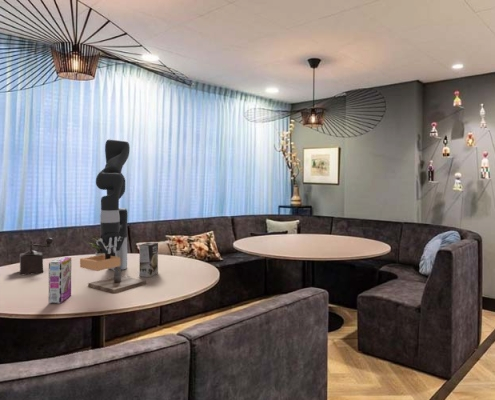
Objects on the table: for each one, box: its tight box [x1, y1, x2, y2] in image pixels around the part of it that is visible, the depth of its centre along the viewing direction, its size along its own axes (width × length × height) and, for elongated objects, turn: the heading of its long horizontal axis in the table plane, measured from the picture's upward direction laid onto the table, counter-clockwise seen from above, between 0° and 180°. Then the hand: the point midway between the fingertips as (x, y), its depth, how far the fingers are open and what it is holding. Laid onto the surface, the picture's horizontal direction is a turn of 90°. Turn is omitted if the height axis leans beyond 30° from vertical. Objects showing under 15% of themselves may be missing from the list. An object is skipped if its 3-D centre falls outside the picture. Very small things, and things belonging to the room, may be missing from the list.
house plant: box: [88, 236, 105, 256], centre depth 224 cm, size 14×14×16 cm
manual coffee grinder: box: [19, 237, 54, 275], centre depth 200 cm, size 16×11×18 cm
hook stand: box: [87, 266, 147, 294], centre depth 176 cm, size 18×18×9 cm
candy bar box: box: [48, 256, 72, 305], centre depth 154 cm, size 11×5×16 cm, turn 5°
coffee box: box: [138, 242, 159, 278], centre depth 196 cm, size 9×6×16 cm
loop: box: [79, 254, 120, 272], centre depth 155 cm, size 11×11×4 cm
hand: (110, 261), depth 159 cm, fingers closed on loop, 1 cm apart
